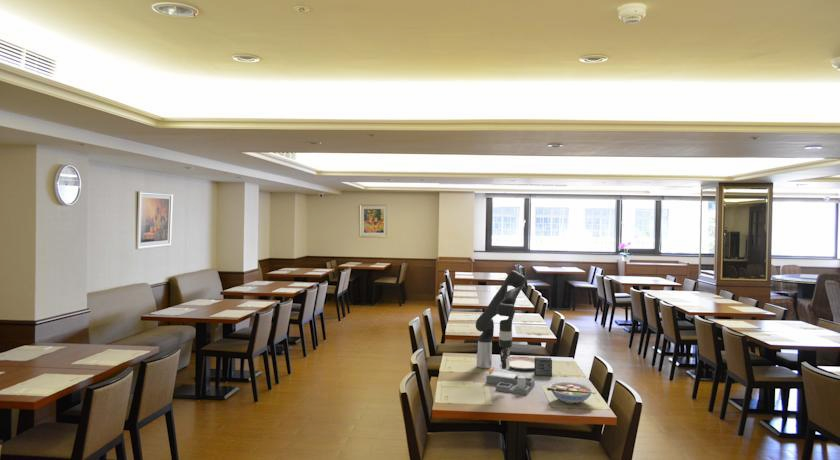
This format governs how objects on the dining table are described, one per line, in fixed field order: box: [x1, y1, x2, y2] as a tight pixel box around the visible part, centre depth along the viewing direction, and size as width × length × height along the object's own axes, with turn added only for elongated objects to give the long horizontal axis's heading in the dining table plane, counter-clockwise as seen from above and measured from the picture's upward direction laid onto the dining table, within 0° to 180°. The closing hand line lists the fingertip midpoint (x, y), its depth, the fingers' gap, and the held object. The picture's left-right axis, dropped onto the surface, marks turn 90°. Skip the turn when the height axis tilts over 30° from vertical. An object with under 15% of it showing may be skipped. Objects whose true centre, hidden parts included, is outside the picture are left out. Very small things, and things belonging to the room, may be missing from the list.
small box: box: [533, 356, 553, 377], centre depth 344 cm, size 11×6×10 cm, turn 84°
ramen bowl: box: [546, 381, 597, 404], centre depth 293 cm, size 25×23×8 cm
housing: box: [485, 375, 535, 396], centre depth 318 cm, size 27×20×8 cm
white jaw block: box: [500, 355, 511, 371], centre depth 312 cm, size 4×4×7 cm
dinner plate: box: [509, 355, 535, 371], centre depth 364 cm, size 28×27×3 cm
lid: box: [486, 366, 518, 379], centre depth 325 cm, size 16×8×4 cm, turn 66°
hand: (505, 367), depth 312 cm, fingers closed on white jaw block, 4 cm apart
